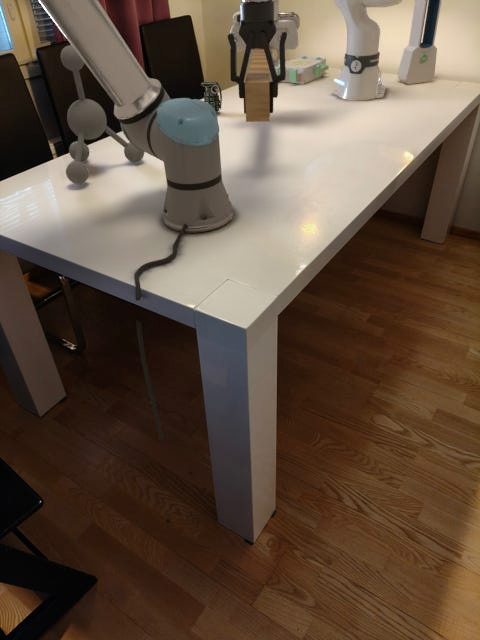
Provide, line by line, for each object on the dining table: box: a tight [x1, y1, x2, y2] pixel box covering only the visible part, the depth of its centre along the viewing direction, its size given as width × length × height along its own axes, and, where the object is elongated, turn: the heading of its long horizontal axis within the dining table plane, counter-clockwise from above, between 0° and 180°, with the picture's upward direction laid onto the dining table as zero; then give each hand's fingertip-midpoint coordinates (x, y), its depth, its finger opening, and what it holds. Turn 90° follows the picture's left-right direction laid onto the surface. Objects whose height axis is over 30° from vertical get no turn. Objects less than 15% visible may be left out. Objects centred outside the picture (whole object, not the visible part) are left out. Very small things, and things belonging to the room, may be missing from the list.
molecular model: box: [60, 44, 145, 185], centre depth 125 cm, size 24×22×30 cm
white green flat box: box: [275, 55, 330, 85], centre depth 207 cm, size 26×6×20 cm
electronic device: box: [397, 0, 442, 85], centre depth 186 cm, size 12×8×30 cm, turn 105°
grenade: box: [200, 81, 223, 114], centre depth 169 cm, size 7×6×10 cm
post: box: [244, 48, 275, 123], centre depth 132 cm, size 50×6×9 cm, turn 176°
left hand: (258, 111), depth 120 cm, fingers closed on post, 6 cm apart
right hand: (264, 67), depth 148 cm, fingers closed on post, 5 cm apart
